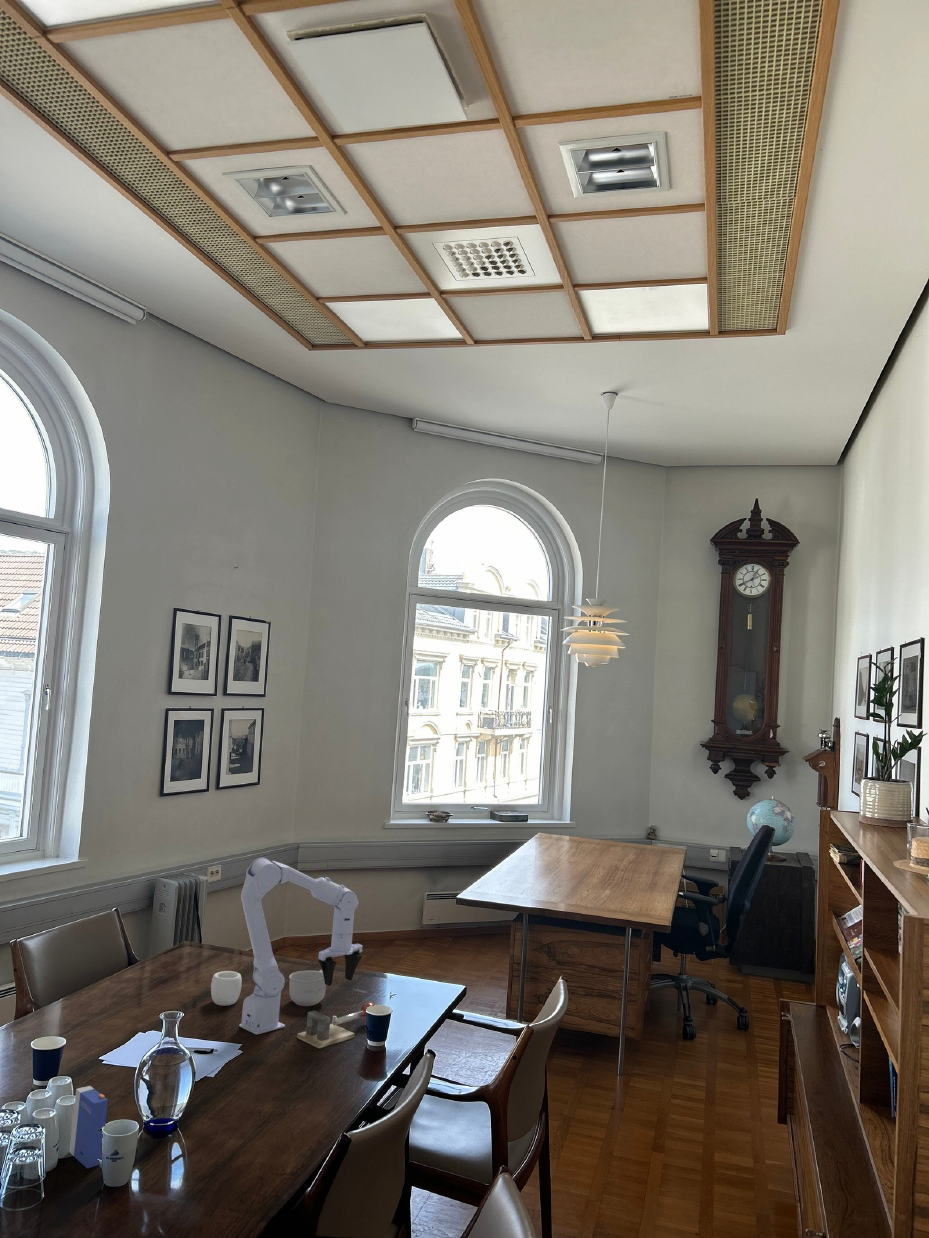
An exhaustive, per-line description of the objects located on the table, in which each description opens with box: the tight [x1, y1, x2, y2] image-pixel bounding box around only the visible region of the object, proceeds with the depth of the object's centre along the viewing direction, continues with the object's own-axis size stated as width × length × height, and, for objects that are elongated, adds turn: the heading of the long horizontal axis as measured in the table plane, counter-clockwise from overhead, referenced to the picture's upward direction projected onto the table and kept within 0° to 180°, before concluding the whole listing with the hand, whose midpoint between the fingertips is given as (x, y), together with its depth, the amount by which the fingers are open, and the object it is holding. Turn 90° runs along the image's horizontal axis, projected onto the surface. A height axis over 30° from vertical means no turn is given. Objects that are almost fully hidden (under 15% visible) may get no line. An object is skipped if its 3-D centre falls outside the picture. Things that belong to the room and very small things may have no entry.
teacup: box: [288, 969, 327, 1007], centre depth 263 cm, size 14×11×8 cm
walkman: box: [68, 1085, 109, 1169], centre depth 170 cm, size 8×3×12 cm, turn 47°
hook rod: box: [331, 1002, 376, 1026], centre depth 244 cm, size 14×5×5 cm, turn 139°
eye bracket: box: [296, 1010, 355, 1049], centre depth 237 cm, size 12×9×6 cm
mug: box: [210, 970, 243, 1007], centre depth 259 cm, size 12×8×8 cm
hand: (338, 982), depth 252 cm, fingers open, 7 cm apart
